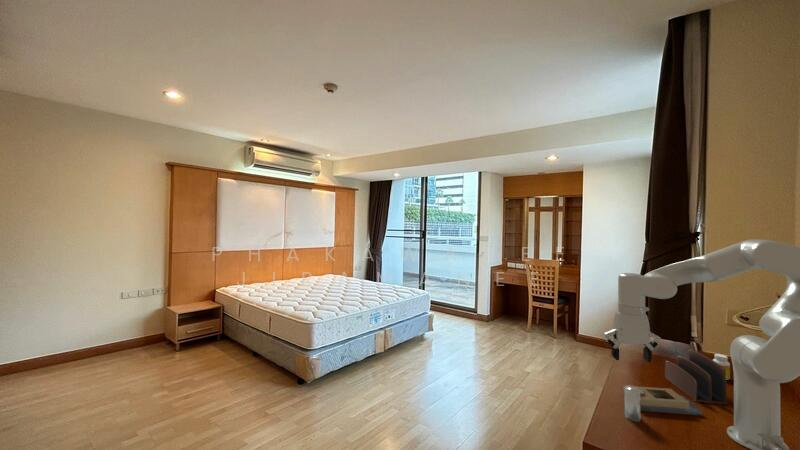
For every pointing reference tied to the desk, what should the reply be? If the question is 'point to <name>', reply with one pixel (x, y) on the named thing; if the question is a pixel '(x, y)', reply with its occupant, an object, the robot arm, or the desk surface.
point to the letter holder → (698, 378)
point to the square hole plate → (665, 401)
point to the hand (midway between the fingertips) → (631, 359)
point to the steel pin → (632, 403)
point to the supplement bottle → (723, 364)
